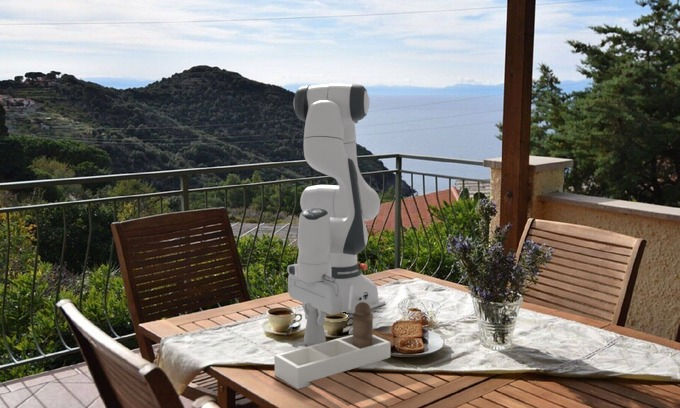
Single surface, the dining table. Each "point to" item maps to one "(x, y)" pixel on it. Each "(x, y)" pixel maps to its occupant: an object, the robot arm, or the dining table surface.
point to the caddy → (327, 359)
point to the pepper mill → (362, 326)
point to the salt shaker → (313, 328)
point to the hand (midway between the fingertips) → (314, 322)
